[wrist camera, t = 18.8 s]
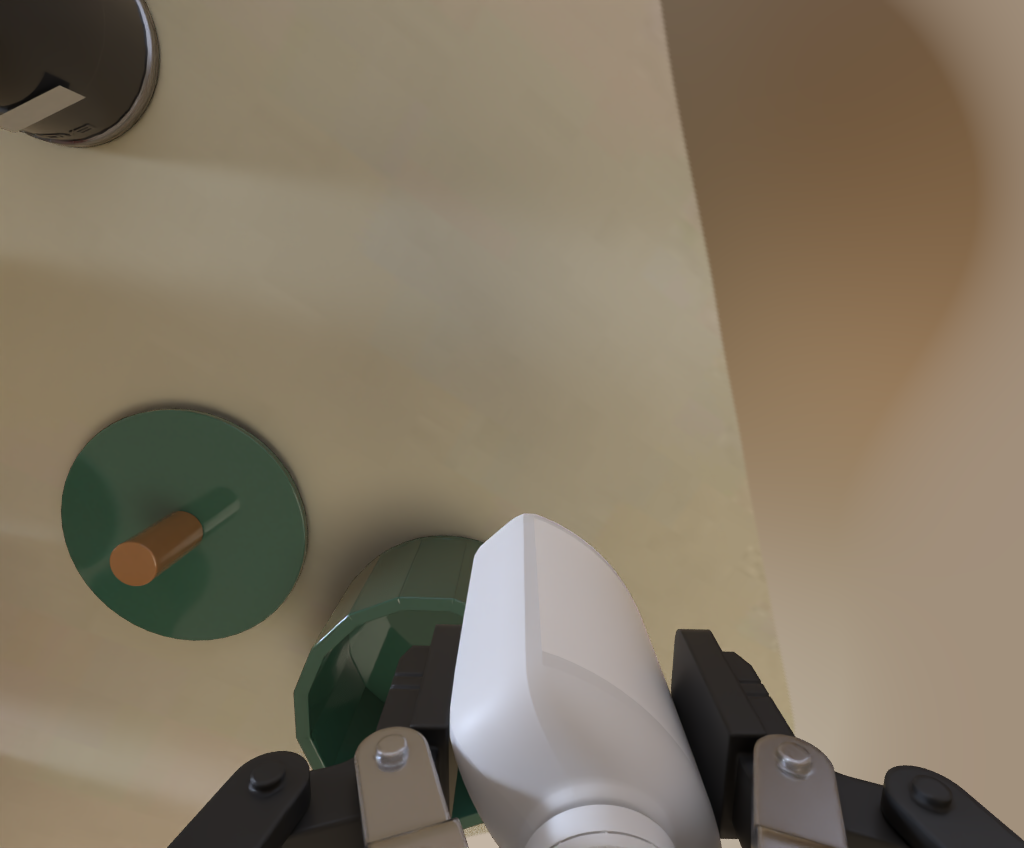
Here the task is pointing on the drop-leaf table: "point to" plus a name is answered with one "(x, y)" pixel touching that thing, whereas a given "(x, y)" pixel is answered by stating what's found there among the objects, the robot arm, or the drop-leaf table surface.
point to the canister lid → (184, 524)
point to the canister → (380, 647)
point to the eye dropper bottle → (568, 704)
